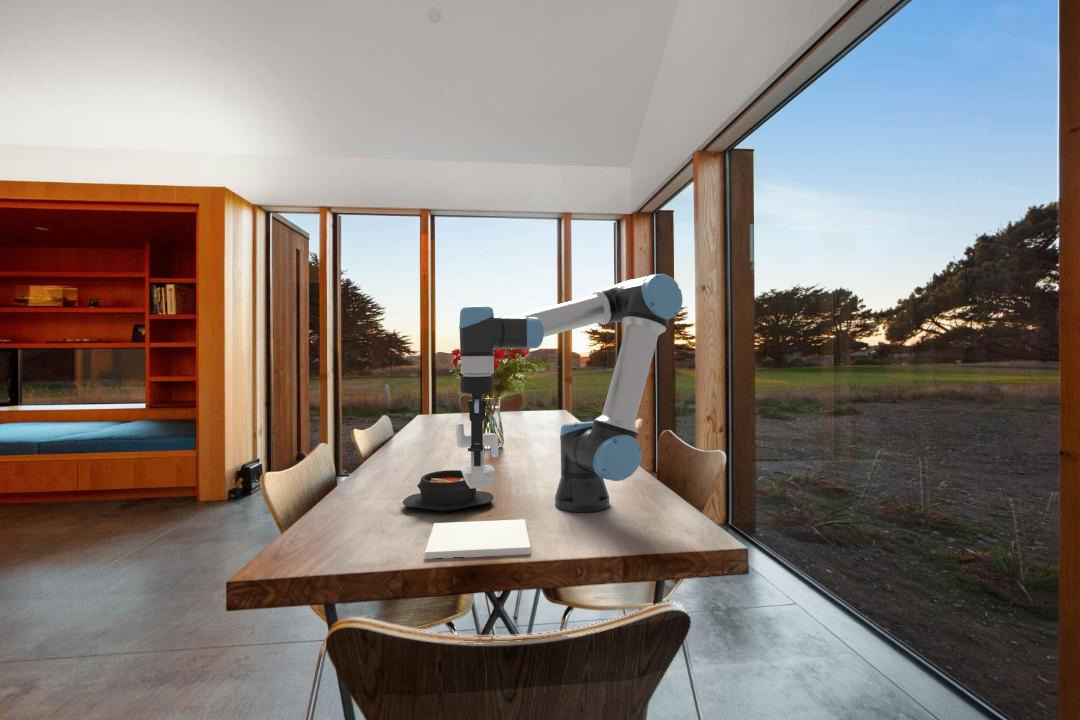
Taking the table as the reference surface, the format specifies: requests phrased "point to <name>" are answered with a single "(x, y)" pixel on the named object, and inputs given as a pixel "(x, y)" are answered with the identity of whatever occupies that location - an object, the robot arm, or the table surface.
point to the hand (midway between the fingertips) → (478, 475)
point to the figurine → (488, 469)
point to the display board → (478, 539)
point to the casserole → (446, 492)
